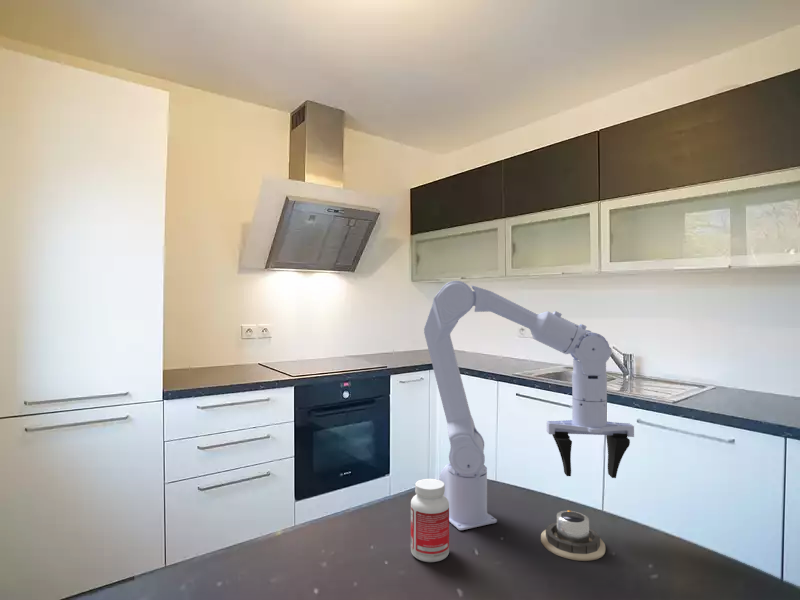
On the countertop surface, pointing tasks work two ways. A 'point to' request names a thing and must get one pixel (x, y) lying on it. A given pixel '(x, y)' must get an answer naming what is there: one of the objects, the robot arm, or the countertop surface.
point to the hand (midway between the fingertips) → (589, 475)
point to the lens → (573, 527)
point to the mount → (573, 545)
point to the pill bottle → (430, 521)
